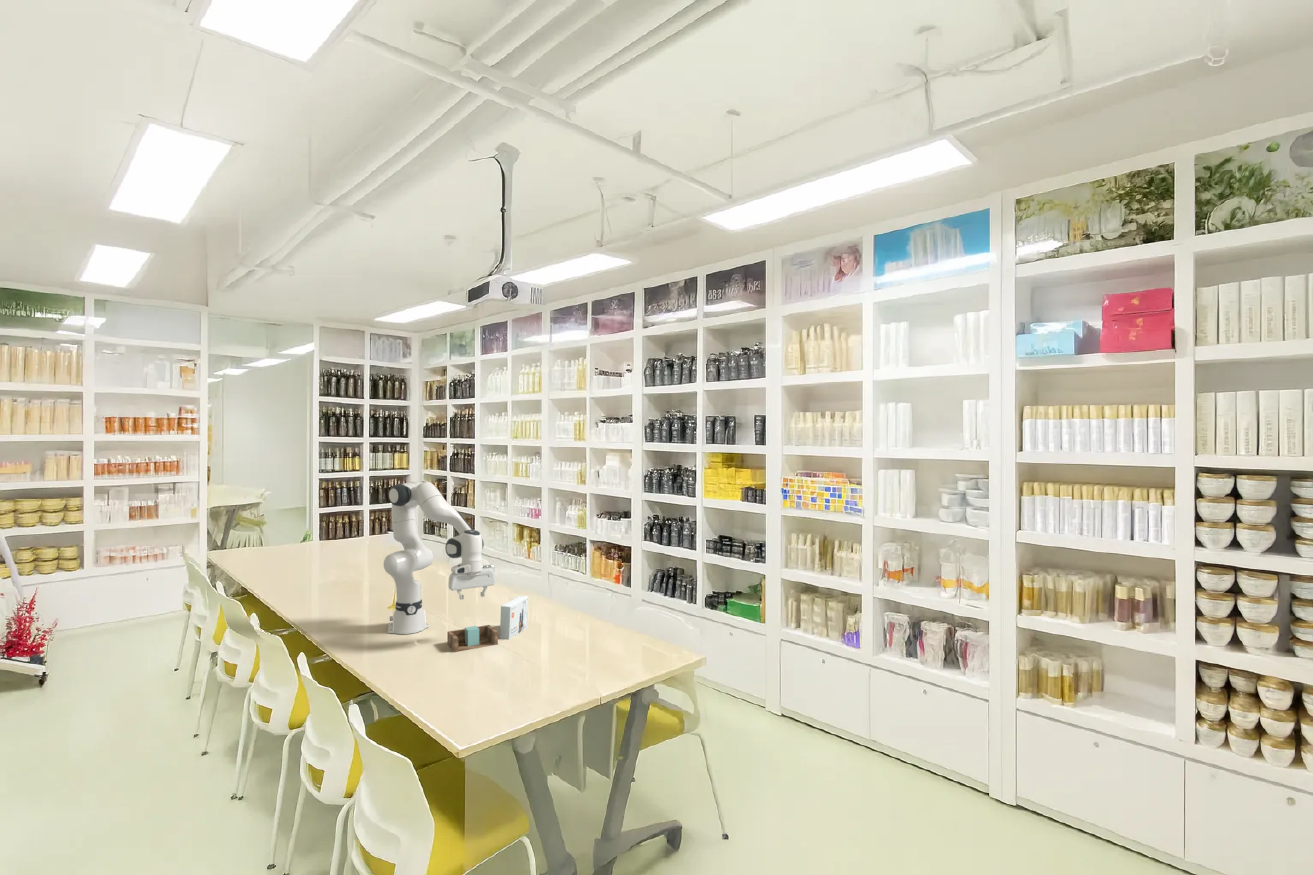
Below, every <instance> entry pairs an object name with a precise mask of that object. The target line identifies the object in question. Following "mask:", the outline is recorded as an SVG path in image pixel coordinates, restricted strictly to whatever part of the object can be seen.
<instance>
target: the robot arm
mask: <svg viewBox="0 0 1313 875" xmlns="http://www.w3.org/2000/svg"><path fill="white" fill-rule="evenodd" d="M388 500H389V502H390V503H391V526H392V533H393V539H394V540H395V541H396V542H398V543H400V544H401V545H402V547H403V550H398V551H394V552H392V553H390V554H388V555H386V556H385V558H384V559H383V569H384V570H385V573H387V574H388V575H390V576H391V577H392V579H393V581H394V583H395V588H396V601H395V605H394V606H395V608H394V609H395V610H394V612H393V614H392V615H391V616H389V622H388V625H387V627H388V628H387V633H388V634H397V635H409V634H415V633H419V632H421V631H424V630H425V629H428V628H430V624H428V623H426V622H427V621H426V619H427V618H426V610H424V609H423V599H422V584H421V582H420V581H419V580H417V579H415V577H414V574H413V573H414V572H416V571H421V570H424V569H425V568H428V567H430V566H431V565H432V564H433V561H434V554H433V552H432V550H431V549H430V548H429V547H428V546H426V545H425V544H424V542H423V541H422V539H421V537H420V534H419V530H418V528H419V527H418V522H417V516H416V508H417V506H419V508H420V510H421V511H422V513H423V515H424V516H425V517H426V518H427V519H428V520H429V521H430V520H431V521H433V522H439V523H444V524H448V525H450V526H452V527H453V528H454V529H455V530H456V532H457V533H458V534H459V535H456V536H453V537H451V538H449V539H448V540H447V541H446V543H445V547H444V548H445V549H444V550H445V553H446V555H447V556H448V557H449V558H450V559H459V558H461V562H460V563H459V564H457V565H454V566H451V568H450V570H451V573H450V574H449V578H448V589H449V590H450V591H452V592H453V591H456V592H457V594H458V597H459V598H458V599H459V600H460V601H461V600H464V599H465V596H464V594H462V593H461V592H462V590H467V589H474V588H482V591H480V597H482V598H483V597H486V592H487V590H488V587H493V586H494V585H495V584H496V576H495V572H496V568H495V566H494V565H492V564H486V565H484V564H483V556H482V553H483V549H484V544H485V543H484V539H483V538H482V534H481V532H480V531H478V530H475V529H474V528H472V526H471V525H470V524H469V523H468V521H467V520H466V519H465V518H464V516H463V515H462V514H461V513H460V512H459V510H457V509H456V508H454V507H453V506H451V504H449V503H448V501H447V500H446V499H445V498H444V496H443V494H442V493H441V491H439V489H438V488H437V487H436V485H434V484H433V483H432V482H431V481H410V482H405V483H397V484H394V485H392V486H391V487H390V489H389V491H388Z"/></svg>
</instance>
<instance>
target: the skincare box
mask: <svg viewBox="0 0 1313 875" xmlns="http://www.w3.org/2000/svg"><path fill="white" fill-rule="evenodd" d="M528 616H529V596H528V595H518V596H516V597H514V598H513V599H511V600H509V601H508V602H506V603H504V604H502V605H501V606H500V624H499V626H500V627H499V639H500V640H511V639H512V638H513V637H516V636H518V635H520V634H521V633H522V632H523V631H526V630H527V629H528Z"/></svg>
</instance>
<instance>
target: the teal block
mask: <svg viewBox="0 0 1313 875" xmlns="http://www.w3.org/2000/svg"><path fill="white" fill-rule="evenodd" d="M478 627H479V626H477V625H473V626H472V625H471V626H466V627H464V629H465V644H466V645H467V646H473V645H478V644H479V628H478Z"/></svg>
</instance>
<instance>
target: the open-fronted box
mask: <svg viewBox="0 0 1313 875" xmlns="http://www.w3.org/2000/svg"><path fill="white" fill-rule="evenodd" d="M477 627H478V628H479V644H478V645H473V646H467V645H466V644H465V628H462V629H455V630H449V631H447V635H446V636H447V639H446V640H447V644H446V645H447V646H448V647H449V648H450V649H451V650H452V651H453V652H454V653H457V652H458V653H459V652H462V651H463V652H465V651H469V650H474V649H479V648H485V647H490V646H497V645H499V631H498V630H496V629H495V628H494V627H493V626H491V625H490V624H487V625H482V626H477Z"/></svg>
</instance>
